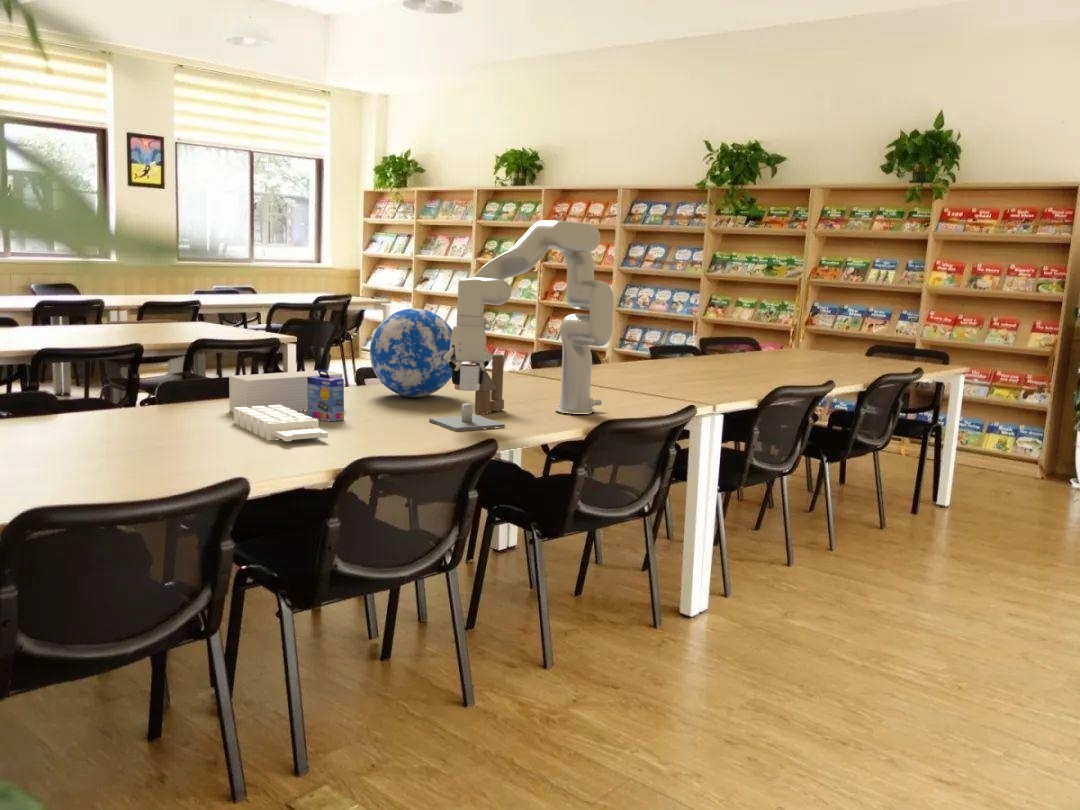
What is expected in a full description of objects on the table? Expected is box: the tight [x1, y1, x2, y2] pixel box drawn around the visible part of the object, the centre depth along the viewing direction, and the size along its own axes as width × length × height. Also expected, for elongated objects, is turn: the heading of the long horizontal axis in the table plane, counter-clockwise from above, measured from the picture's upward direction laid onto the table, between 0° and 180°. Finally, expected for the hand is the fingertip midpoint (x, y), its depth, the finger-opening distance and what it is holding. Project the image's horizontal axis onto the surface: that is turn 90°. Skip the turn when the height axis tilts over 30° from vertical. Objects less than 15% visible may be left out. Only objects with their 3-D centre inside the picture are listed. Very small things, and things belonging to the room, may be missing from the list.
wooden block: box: [474, 353, 505, 414], centre depth 297 cm, size 4×11×18 cm, turn 145°
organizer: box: [233, 405, 329, 442], centre depth 252 cm, size 13×5×35 cm
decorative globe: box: [369, 307, 454, 398], centre depth 320 cm, size 30×30×30 cm
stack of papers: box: [228, 369, 344, 413], centre depth 287 cm, size 32×11×11 cm, turn 135°
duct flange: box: [428, 403, 506, 432], centre depth 274 cm, size 16×16×6 cm
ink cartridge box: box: [307, 369, 345, 422], centre depth 273 cm, size 10×6×14 cm, turn 59°
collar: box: [454, 363, 480, 392], centre depth 272 cm, size 7×7×7 cm
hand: (467, 383), depth 273 cm, fingers closed on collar, 6 cm apart
